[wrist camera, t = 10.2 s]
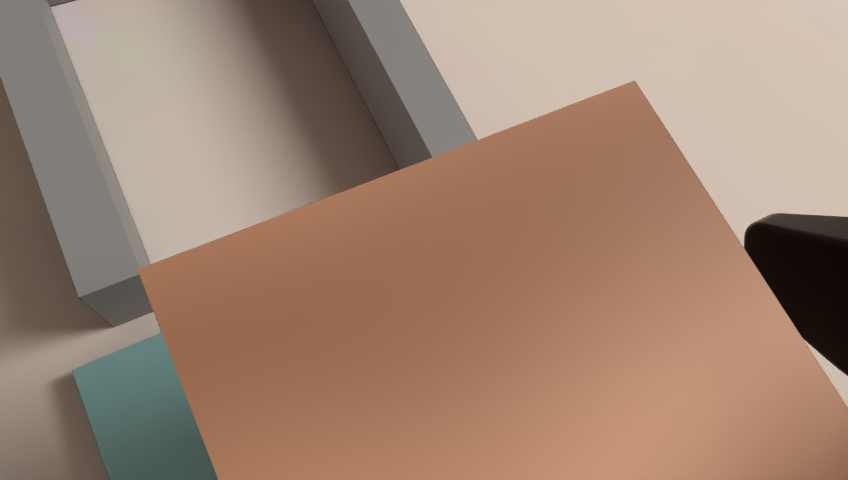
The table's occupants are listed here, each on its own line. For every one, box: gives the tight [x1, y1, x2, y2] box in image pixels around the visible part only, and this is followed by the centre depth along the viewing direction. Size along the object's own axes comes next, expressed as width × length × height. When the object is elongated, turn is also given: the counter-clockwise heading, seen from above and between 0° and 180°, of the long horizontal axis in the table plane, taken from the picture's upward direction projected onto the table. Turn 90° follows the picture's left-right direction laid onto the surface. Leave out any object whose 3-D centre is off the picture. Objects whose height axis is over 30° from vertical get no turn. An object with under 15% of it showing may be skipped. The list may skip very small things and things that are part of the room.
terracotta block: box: [138, 81, 848, 480], centre depth 10 cm, size 5×5×10 cm
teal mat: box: [72, 333, 218, 480], centre depth 15 cm, size 10×11×1 cm
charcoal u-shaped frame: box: [0, 0, 477, 327], centre depth 16 cm, size 10×9×4 cm
